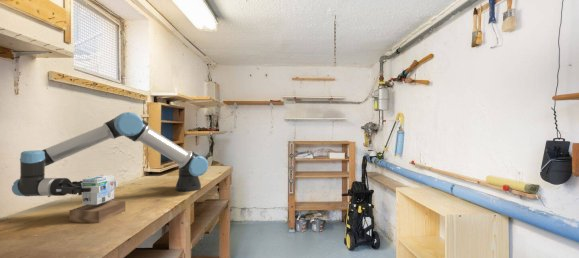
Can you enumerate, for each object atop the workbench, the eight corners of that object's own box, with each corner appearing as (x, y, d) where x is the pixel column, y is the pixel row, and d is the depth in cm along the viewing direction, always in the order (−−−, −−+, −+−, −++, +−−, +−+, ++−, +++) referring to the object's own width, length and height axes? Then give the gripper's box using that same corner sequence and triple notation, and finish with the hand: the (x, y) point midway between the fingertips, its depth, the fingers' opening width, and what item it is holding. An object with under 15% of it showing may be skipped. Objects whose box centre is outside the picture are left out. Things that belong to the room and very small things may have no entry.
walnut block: (125, 212, 121) (125, 201, 121) (98, 223, 106) (98, 211, 106) (99, 211, 122) (99, 200, 122) (69, 222, 107) (69, 210, 107)
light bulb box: (97, 205, 108) (97, 179, 108) (81, 205, 108) (81, 179, 108) (115, 198, 119) (115, 174, 119) (100, 198, 119) (100, 174, 119)
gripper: (76, 189, 124) (124, 188, 126) (30, 203, 101) (89, 202, 102) (76, 173, 124) (124, 173, 126) (30, 183, 101) (89, 183, 102)
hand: (108, 186), depth 114 cm, fingers closed on light bulb box, 11 cm apart
